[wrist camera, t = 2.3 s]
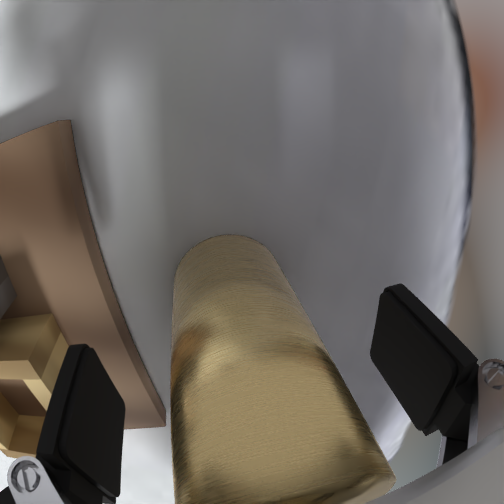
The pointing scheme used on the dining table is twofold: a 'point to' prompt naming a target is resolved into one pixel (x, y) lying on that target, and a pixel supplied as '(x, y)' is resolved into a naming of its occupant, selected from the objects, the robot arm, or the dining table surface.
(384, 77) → the dining table surface
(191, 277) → the beige cylinder
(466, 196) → the dining table surface
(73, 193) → the board
